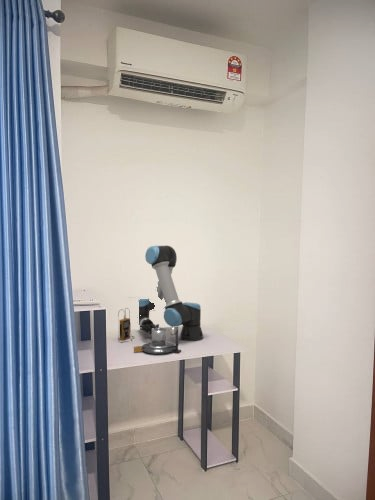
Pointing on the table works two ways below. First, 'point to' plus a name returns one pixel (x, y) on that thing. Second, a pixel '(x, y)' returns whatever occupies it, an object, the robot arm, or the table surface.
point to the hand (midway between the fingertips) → (155, 333)
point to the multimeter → (125, 328)
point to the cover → (158, 339)
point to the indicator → (175, 332)
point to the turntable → (146, 349)
